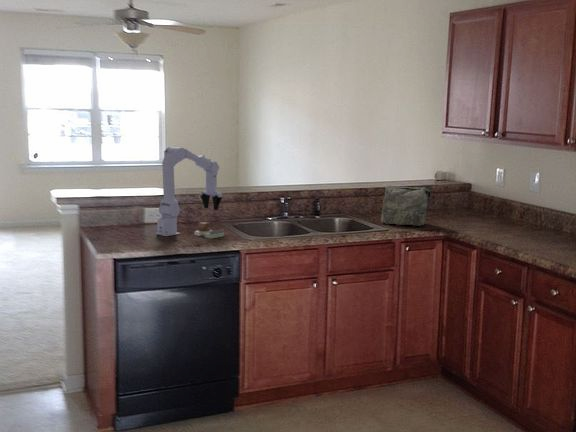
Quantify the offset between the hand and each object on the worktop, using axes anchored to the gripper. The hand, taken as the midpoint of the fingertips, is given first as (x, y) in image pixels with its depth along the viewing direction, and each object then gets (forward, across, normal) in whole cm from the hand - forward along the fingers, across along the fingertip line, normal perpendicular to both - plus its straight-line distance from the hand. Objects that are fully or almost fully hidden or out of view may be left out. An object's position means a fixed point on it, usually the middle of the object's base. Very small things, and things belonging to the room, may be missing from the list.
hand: (211, 209), depth 356 cm
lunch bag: (+10, -63, -93) cm, 113 cm away
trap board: (+10, -16, +16) cm, 24 cm away
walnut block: (+8, -12, +16) cm, 21 cm away
